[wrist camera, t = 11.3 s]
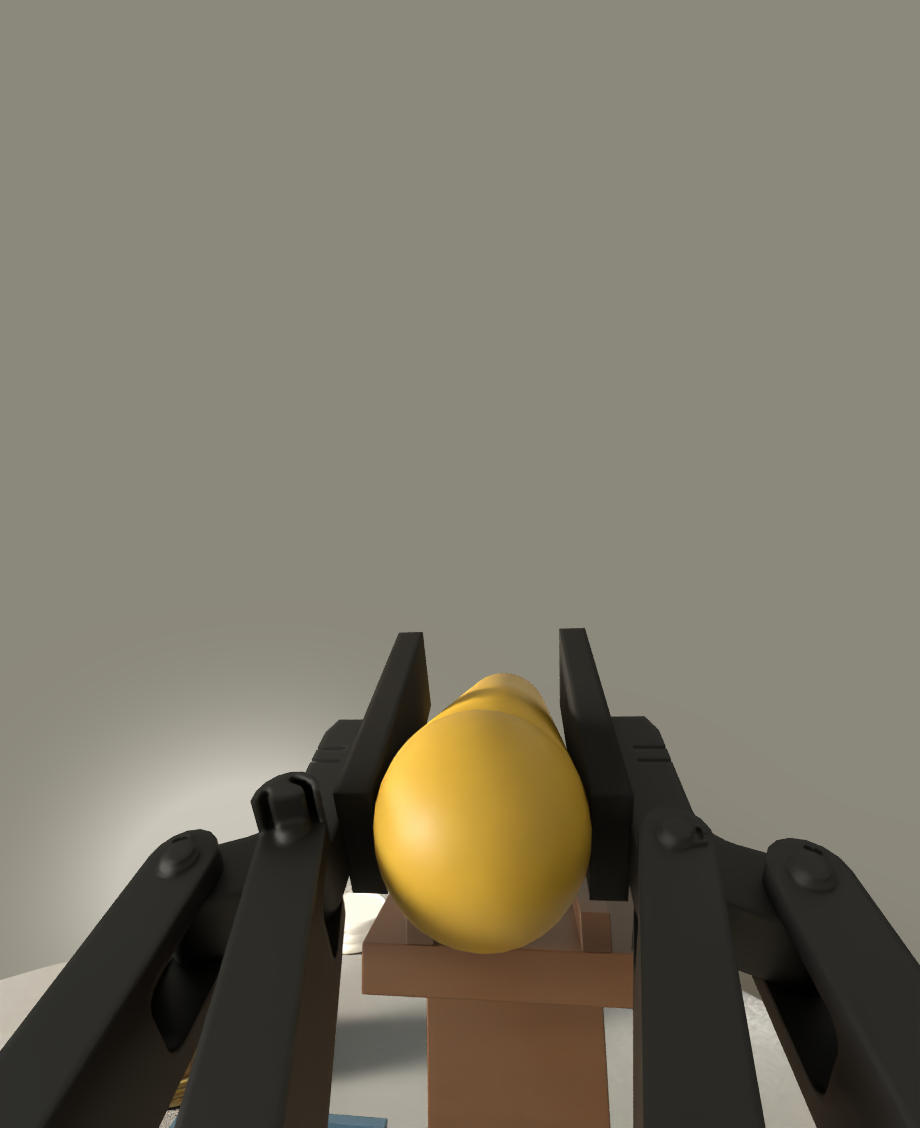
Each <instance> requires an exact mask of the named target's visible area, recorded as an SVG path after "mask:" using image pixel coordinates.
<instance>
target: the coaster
mask: <svg viewBox="0 0 920 1128" xmlns="http://www.w3.org/2000/svg"><path fill="white" fill-rule="evenodd" d="M343 899H344V904H345V912H346V916H345V928H344V940H343V952H342V954H353V953H359V952H362V943H363V941H364V939H365V937H366V935H367V934H368V932H369V930H370V928H371V926H372V924H373V923H374V921H375V919H376V917H377V915H378V913H379V911H380V910H381V908H382V906H383V904H384V902H385V900H386V898H385V897H383V896H382V895H379V894H368V893H353V892H351V893H346V894H343Z"/></svg>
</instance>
